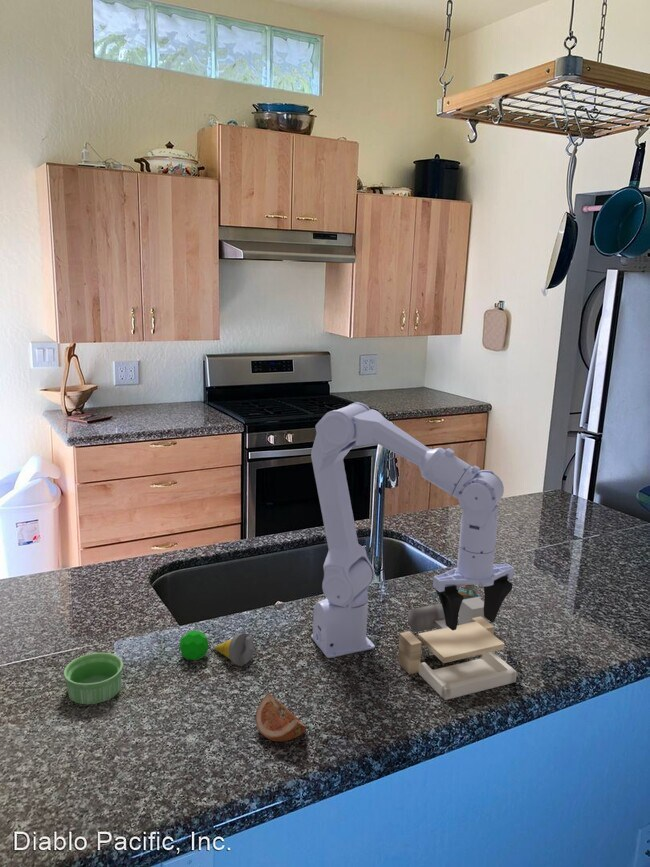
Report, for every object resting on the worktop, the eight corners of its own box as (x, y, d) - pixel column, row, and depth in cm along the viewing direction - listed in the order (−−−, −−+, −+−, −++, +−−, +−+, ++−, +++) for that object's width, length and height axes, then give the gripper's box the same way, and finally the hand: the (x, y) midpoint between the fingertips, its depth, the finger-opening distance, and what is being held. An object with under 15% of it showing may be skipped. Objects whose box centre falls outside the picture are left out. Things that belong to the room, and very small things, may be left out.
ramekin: (103, 669, 116) (102, 646, 115) (135, 690, 111) (134, 666, 110) (54, 693, 109) (52, 668, 108) (85, 717, 104) (84, 691, 103)
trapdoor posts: (397, 664, 120) (399, 633, 119) (478, 645, 127) (480, 616, 125) (409, 676, 116) (411, 644, 115) (491, 657, 123) (494, 626, 122)
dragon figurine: (446, 613, 147) (481, 613, 142) (430, 608, 142) (465, 608, 137) (447, 582, 149) (481, 582, 145) (431, 576, 144) (466, 575, 139)
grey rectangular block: (470, 633, 131) (472, 609, 130) (458, 623, 135) (460, 600, 134) (487, 629, 133) (489, 606, 132) (475, 620, 136) (477, 596, 135)
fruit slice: (315, 744, 99) (316, 714, 98) (275, 762, 95) (275, 731, 94) (285, 713, 106) (286, 685, 105) (247, 729, 102) (247, 699, 101)
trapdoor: (397, 627, 125) (398, 607, 124) (453, 616, 129) (454, 596, 128) (443, 671, 111) (444, 649, 110) (503, 657, 116) (505, 635, 115)
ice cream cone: (249, 629, 116) (207, 628, 122) (242, 662, 114) (199, 659, 119) (269, 639, 120) (227, 637, 125) (262, 670, 117) (219, 667, 123)
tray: (444, 703, 109) (445, 689, 109) (418, 676, 117) (419, 663, 116) (515, 684, 115) (516, 671, 114) (486, 660, 122) (487, 647, 122)
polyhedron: (177, 653, 121) (176, 628, 120) (204, 648, 123) (204, 624, 122) (183, 668, 117) (182, 642, 116) (211, 662, 119) (211, 637, 118)
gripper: (452, 562, 104) (446, 643, 107) (529, 550, 110) (521, 626, 113) (428, 545, 111) (423, 622, 114) (501, 534, 116) (494, 607, 119)
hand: (470, 623), depth 114 cm, fingers open, 7 cm apart
